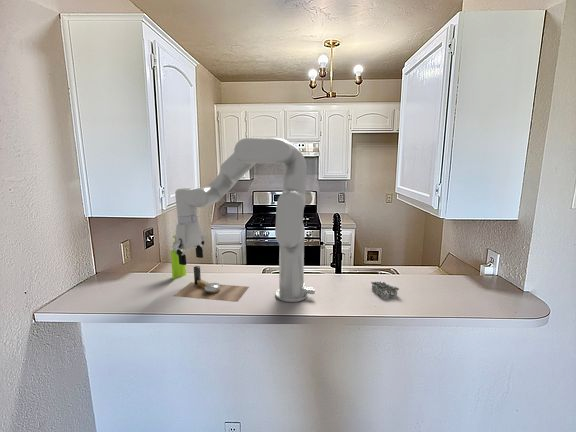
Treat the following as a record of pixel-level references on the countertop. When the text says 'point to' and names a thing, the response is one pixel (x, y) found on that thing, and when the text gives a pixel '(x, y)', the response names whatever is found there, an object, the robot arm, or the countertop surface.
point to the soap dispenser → (177, 264)
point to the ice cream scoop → (209, 287)
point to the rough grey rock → (381, 287)
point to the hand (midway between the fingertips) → (191, 260)
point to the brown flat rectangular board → (224, 294)
